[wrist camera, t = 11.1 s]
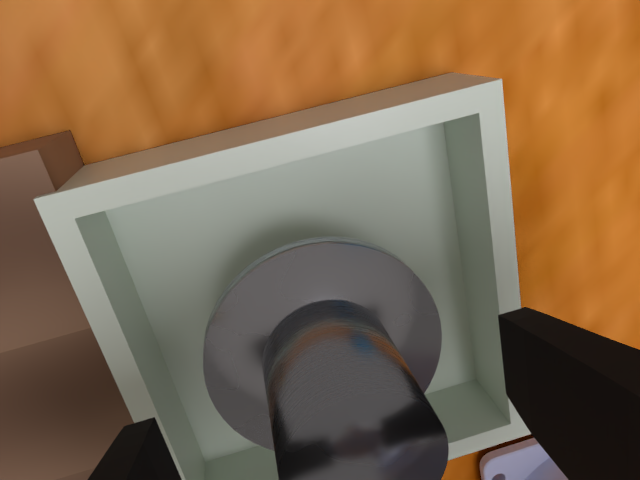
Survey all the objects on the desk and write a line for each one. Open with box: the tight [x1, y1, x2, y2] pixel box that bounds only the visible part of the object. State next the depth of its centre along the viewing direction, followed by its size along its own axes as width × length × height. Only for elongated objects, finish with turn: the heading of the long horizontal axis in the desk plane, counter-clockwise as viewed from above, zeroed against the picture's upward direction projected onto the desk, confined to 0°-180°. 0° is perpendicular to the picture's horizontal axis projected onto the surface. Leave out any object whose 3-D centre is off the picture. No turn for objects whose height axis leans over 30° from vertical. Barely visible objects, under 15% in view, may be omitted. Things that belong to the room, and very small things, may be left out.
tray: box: [33, 72, 531, 480], centre depth 14 cm, size 10×10×3 cm
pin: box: [203, 237, 449, 480], centre depth 12 cm, size 6×6×6 cm
